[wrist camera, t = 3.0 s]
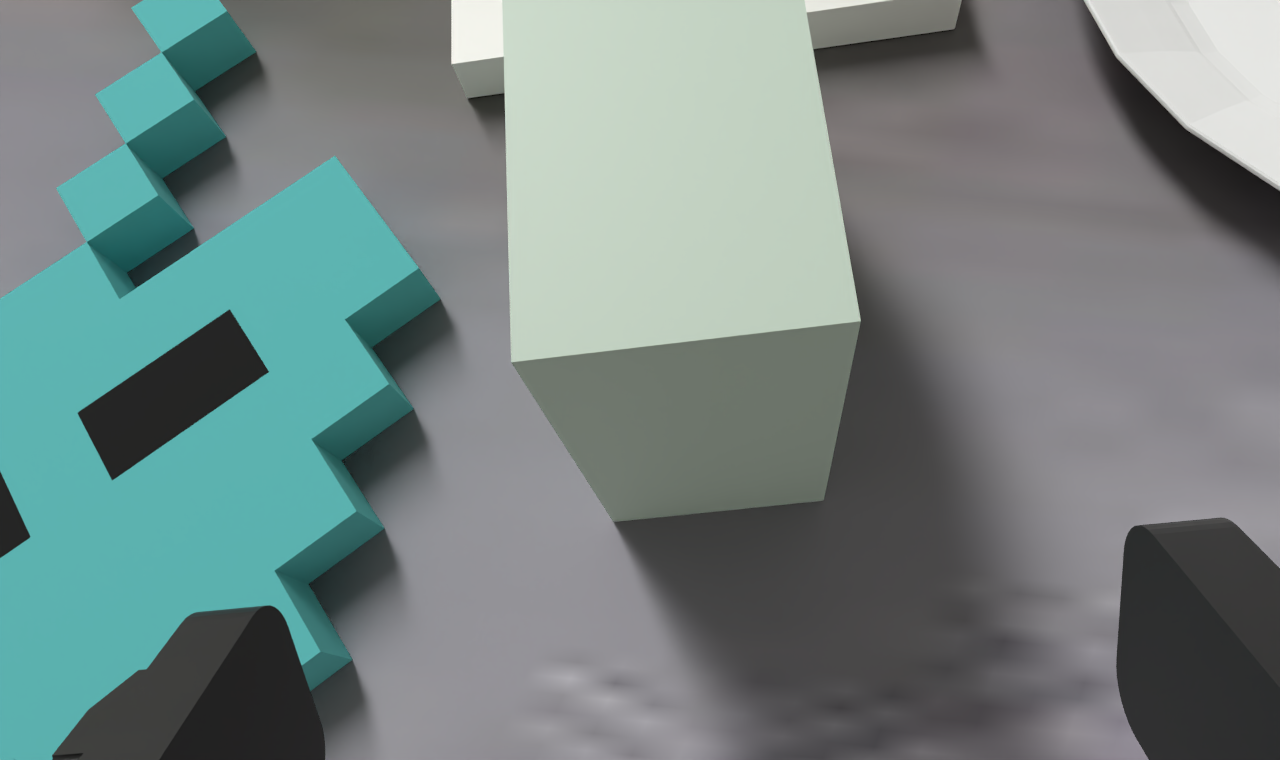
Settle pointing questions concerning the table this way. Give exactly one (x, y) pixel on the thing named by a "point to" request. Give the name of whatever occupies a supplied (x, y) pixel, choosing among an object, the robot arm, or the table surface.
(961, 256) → the table surface
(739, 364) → the pale green square block
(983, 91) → the table surface
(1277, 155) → the plate
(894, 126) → the table surface
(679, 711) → the table surface
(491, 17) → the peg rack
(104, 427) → the alien figure
